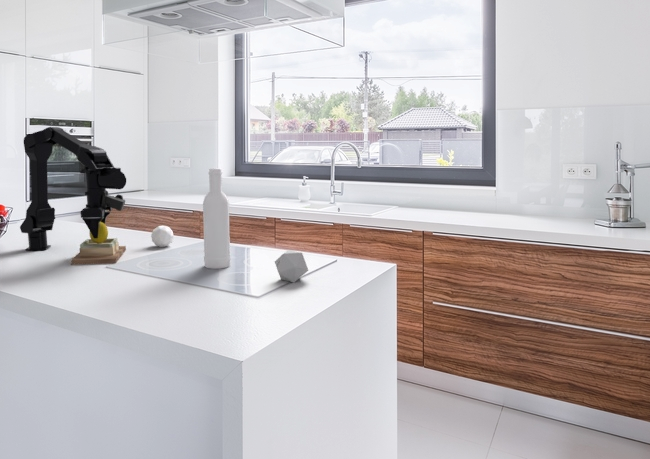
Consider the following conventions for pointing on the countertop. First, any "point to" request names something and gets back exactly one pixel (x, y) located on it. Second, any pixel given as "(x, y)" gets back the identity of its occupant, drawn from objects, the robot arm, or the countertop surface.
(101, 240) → the lemon
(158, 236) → the ball
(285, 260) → the die
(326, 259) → the countertop surface
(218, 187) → the bottle
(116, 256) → the plinth
